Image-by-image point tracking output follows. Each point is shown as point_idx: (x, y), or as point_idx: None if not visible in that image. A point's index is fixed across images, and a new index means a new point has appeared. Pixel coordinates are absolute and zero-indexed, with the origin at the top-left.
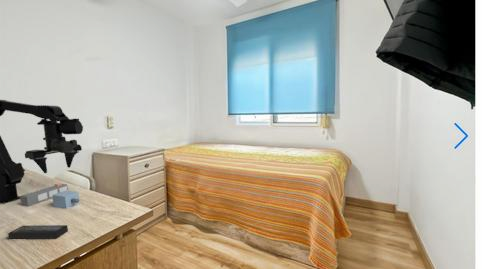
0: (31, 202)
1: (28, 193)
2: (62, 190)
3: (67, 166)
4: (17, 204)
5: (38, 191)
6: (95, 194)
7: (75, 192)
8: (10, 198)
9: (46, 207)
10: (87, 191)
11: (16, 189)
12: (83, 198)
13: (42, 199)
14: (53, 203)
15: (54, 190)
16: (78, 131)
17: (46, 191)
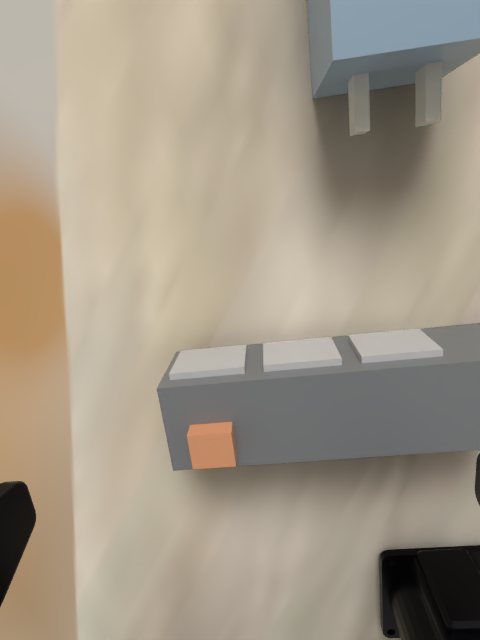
0: (472, 333)
1: (468, 447)
2: (219, 356)
3: (27, 540)
4: None
5: (401, 421)
6: (78, 6)
7: None
8: (467, 561)
9: (465, 135)
10: (77, 201)
11: (438, 629)
12: (199, 13)
13: (390, 332)
14: (454, 66)
15: (290, 359)
16: None
17: (362, 366)
